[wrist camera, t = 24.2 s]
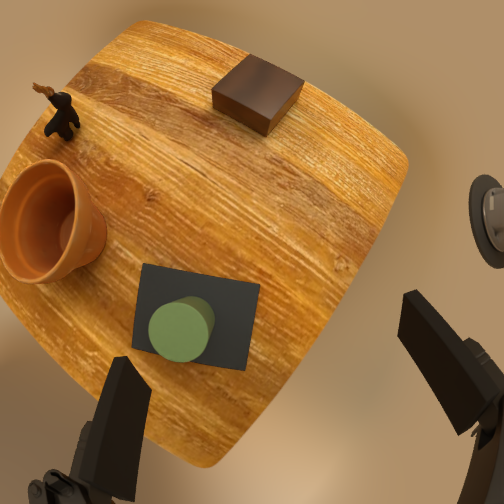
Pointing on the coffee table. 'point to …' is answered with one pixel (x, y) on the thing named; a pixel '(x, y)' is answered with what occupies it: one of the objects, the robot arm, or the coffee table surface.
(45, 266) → the flower pot
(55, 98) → the figurine
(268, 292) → the coffee table surface
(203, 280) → the slate mat
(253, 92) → the dark brown square block
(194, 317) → the green canister
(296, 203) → the coffee table surface
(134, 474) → the robot arm
